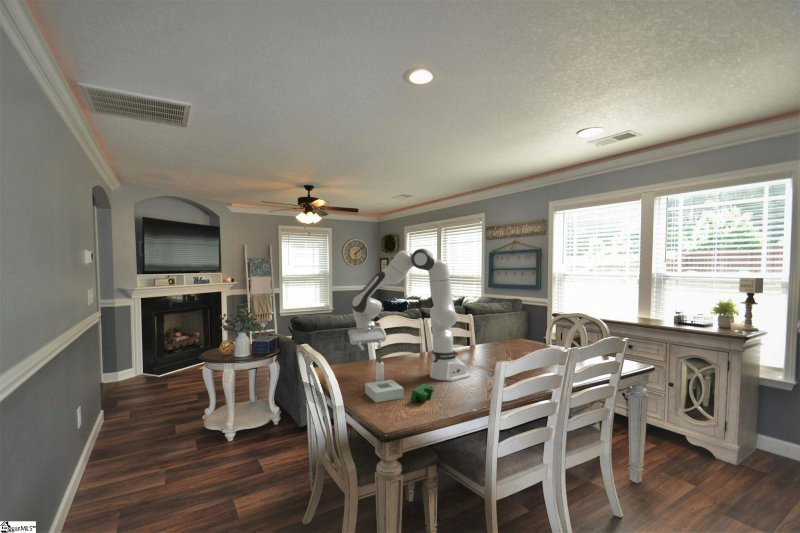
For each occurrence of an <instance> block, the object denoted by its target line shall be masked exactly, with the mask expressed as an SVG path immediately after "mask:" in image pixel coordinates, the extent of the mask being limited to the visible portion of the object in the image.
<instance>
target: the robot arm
mask: <svg viewBox="0 0 800 533" xmlns="http://www.w3.org/2000/svg"><path fill="white" fill-rule="evenodd" d="M433 255H434V254H433V253H432V252H431V251H430V250H428V249H427V248H419V249H418V248H417V249H416V250H415V251H414V252H412V253H411V252H409V251H407V250H400V251H399V252H398V253H397V254H396V255H395V256H394V257H393V258H392V259H391V261H390V262H389V263H388V265H387V266H386V267H385V268H384V269H382V270H380V271H378V272H377V273H376V274H375V275H374V276H373V277H372V278H371V279H370V280H369V281H368V283H367V284H366V285H365V286H364V287H363V289H361V290H360V292H358V293H357V294H356V295H355V296H354V297H353V298H352V301H351V306H352V314H353V319H354V321H355V323H356V325H355V326H356V328H355V327H354V328H350V329H348V330H347V334H348V336H349V342H350V344H351V345H353V346H354V345H357V346H358V347H359V349H360V350H361V351H365V346H364V345H363V344H371V343H378V344H377V349H381V348H382V345H381V344H382V342H383V343H384V342H385V341H386V340H387V338H388V336H387V333H386V331H385V329H384V327H382V323H381V322H377V321H373V319H375V318H376V317H378V316H380V314H381V313H382V311H383V304H382V302H381V301H380V300H378V299H375V298H373V297H372V295H374V293H375V291H377V289H379V287H382V286H384V285H398V284H400V283H401V282H402V281H403V280H404V278H405V277H406V275H407V273H408V272H409V271H410V270H411V269H412V268H413V267H415V268H416V269H419V270H423V271H427V273H428V277H429V278H428V279H429V289H430V297H431V300H432V304H433V306H432V307H431V308H430V310H429V315H430V325H431V326H430V327H431V331H432V332H431V334H432V350H431V368H430V374H429V377H430V378H431V379H432V380H433V379H434V380H437V381H448V382H455V381H458V380H462V379H466V378H470V377H471V373H470V372H469V371H467V366H466V364H465V363H464V362H463V361H462V360H460V359H459V358H458V357H456V356H460V351H455V350H454V335H453V333H452V327H453V326H454V325H455V324H456V323H457V320H458V316H457V313H456V309H455V308H456V307H455V304H454V300H453V296H452V289H451V288H452V287H451V279H450V278H451V277H450V272H449V268H448V264H447V262H446V261H445V260H443V259H435V258H434V256H433Z"/></svg>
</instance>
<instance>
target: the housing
mask: <svg viewBox="0 0 800 533" xmlns="http://www.w3.org/2000/svg"><path fill="white" fill-rule="evenodd" d="M364 393H365V394H366V395H367V397H368V398H370V399H371V400H372V401H373V402H374V403H376V404H377V403H380V402H381V403H382V402H388V401H393V400H399V399H400V400H401V399H404V398H405V389H404V387H403V386H402V385H400V384H399V383H397V382H396V381H395V380H394V379H387V380H385V379H384V381H378V382H376V381H371V382H365V383H364Z"/></svg>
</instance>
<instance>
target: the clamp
mask: <svg viewBox="0 0 800 533" xmlns="http://www.w3.org/2000/svg"><path fill="white" fill-rule="evenodd" d="M434 392H435V387H433V386H432V385H430V384H427V383H425V382H424V383H422V384H420V385H419V386H417V387H415V388H413V389H412V391H411V395H410V401H411V402H413V403H416V402H418V401H420V402H422V403H424V404H426V403H427V399H428V400H431V399H432V395H433V393H434Z"/></svg>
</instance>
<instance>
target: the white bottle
mask: <svg viewBox="0 0 800 533" xmlns="http://www.w3.org/2000/svg"><path fill="white" fill-rule="evenodd" d="M384 365H385V362H384V361H382V358H381V357H378V358H377V361H376V362H375V382H378V381H385V371H384V370H385V366H384Z"/></svg>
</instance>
